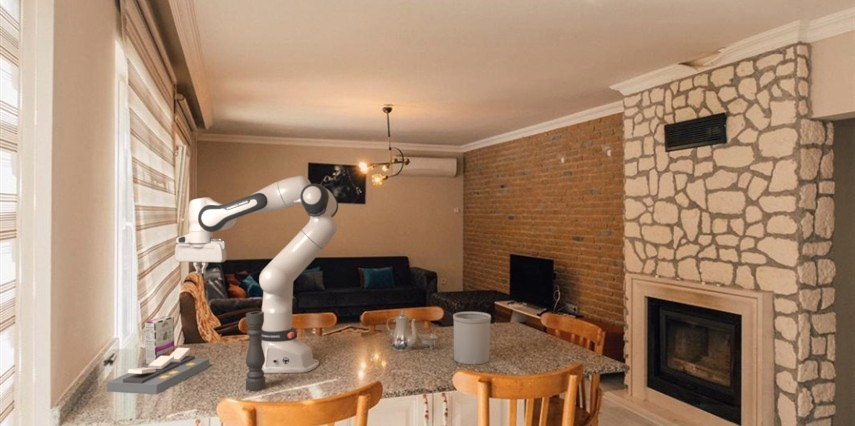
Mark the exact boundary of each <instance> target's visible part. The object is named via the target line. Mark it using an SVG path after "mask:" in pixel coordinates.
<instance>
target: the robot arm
mask: <svg viewBox="0 0 855 426" xmlns="http://www.w3.org/2000/svg"><path fill="white" fill-rule="evenodd" d="M297 205H302V206H303V209H304V210H305V212H306V214H307V215H308V216H309V221H308V222H307V223H306V225H305V226H304V227H302V229H300V231H299V232H297V234H296V235H294V237H293V238H292V239H291V240H290V242H288V244H286V245H285V246H284V248H282V250H280V251H279V253H277V254H276V256H275V257H274V258H273V259H271V261H270V262H269V263H268V264H267V265H266V266H265V267H264V268H263V269H262V270H261V271H260V274H259V277H258V278H259V279H258V281H259V286H260V288H261V290H262V292H263V294H262V303H261V304H262V305H261V312H264V323H263V326H262V328H261V329H262V330H263V333H262V335H261V344H262V348H263V352H264V356H265V363H264V365H263V366H262V370H263V372H264V374H283V373H285V374H290V373H292V374H293V373H294V374H295V373H307V372H311V371H313V370H314V369H316V368H317V367H318V366H319V365H320V361H319V359H315V358H314V356H313V350H312V348H311V347H310V346H309V345H308V344H306V343H305V342H303V340H301V339H300V338H299V337H298V333H299V328H298V329H295V328H294V327H293V297H294V295H293V293H294V292H293V291H294V281H295V280H296V279H297V278H298V277H299V276H300V274H302V273H303V272H304V271H305V270H306V269H307V267H308V266H309V265H311V263H312V262H313V261H314V260H315V258H317V256H318V255H319V254H320V253H321V252H322V251H323V250H324V249H325V248H326V247H327V245H328V244H329V243H330V242H331V241H332V239H333V238H334V237H335V235H336V233H337V232H338V224H337V221H336V220H335V218H334V217H335V216H336V214H337V213H338V211H339V202H338V200H337V198H336V197H335V196H334V195H333V193H332V192H331V190H329V189H328V188H326V187H325V186H324V185H322V184H319V183H311V181H310V179H308V178H307V177H306V176H304V175H296V176H291V177H287V178H284V179H280V180H278V181H276V182H273V183H270V184H269V185H267V186H266V187H263V188H261V189H260V190H258V191H256V192H254V193H251V194H249V195H248V196H247V195H246V196H245V197H243V198H239V199H236V200H234V201H231V202H228V203H225V204H224V203H223V204H222V203H220V202H217V201H215V200H213V199H212V198H211V197H210V196H199V197H195V198H192V199H191V200H190V201H189V204H188V210H187V211H188V213H187V215H188V216H187V218H188V219H187V221H188V225H189V226H188V229H187V230H188V233H187V234H185V235H182V236H179V237H177V238H175V242H176V243H177V244H176V245H175V249H174V259H175V261H176V262H179V263H193V267H194V269H195V272H196V274H198V275H199V274H201V275H203V274H206V269H207V267H208V266H209V263H224V262H225V261H226V260H227V250H226V241H225V240H224V239H222V238H219V237H218V238H215V237H214V235H213V233H214V232H217V231H223V230H229V229H232V228H233V227H235V226H236V224H237V223H238V218H241V217H243V216H246V215H247V216H248V215H249V214H250V215H251V214H253V213H272V212H273V213H274V212H278V211H282V210H285V209H288V208H291V207H294V206H297ZM213 237H214V238H213ZM200 264H201V265H202V267H200Z"/></svg>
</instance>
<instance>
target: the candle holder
mask: <svg viewBox="0 0 855 426" xmlns="http://www.w3.org/2000/svg"><path fill="white" fill-rule="evenodd" d="M245 317H246V318H245V324H246V326H247V328H248V330H247V331H246V334H247V335H248V340H249V341H248V343H249V344H248V347H247V348H248V350H247V354H246V358H245V365H246V367H248V372H247V373H246V379H245V391H247V390H249V391H248V392H250V391H255V392H259V391H258V390H261V391H263V390H265V389H266V376H265V373H264V372H263V370H262V366H263V365H264V363H265V356H264V352H263V348H262V344H261V335H262V333H263V330H262V326H263V323H264V312H262V311H260V310H259V311H249V312H248V311H247V313H245ZM264 388H265V389H264ZM262 389H263V390H262Z"/></svg>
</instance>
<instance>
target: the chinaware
mask: <svg viewBox="0 0 855 426" xmlns="http://www.w3.org/2000/svg"><path fill="white" fill-rule="evenodd" d="M410 317H411V316H409V315H407V314H406V313H405V312H404V310H401V311H400V313H399V314H397V315H395V316H394V317H390V318H388V319H387V321H386V323H385V325H386V329H387V332H386V333H385V336H386V339H388V340H389V339H390V340H389V345H390V346H391V348H392V350H393V351H396V352H409V351H411V350H413V347H414V346H415V345H416V344H417V343H418V340H419V341H420V345H421V346H422V347H424V350H433V349H434V348H435V347H436V344H437V341H438V338H439V337H440V336H439V335H437V334H435V333H431V334H426V333H422V334H421V335H419V334H418V330H417V327H416V323H415V322H416V320H417V318H413V319H412V320H411V325H410ZM390 320H393V323H395V328H394V329H390V327H389V322H390ZM410 326H411V329H410ZM388 336H389V337H388Z"/></svg>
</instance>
